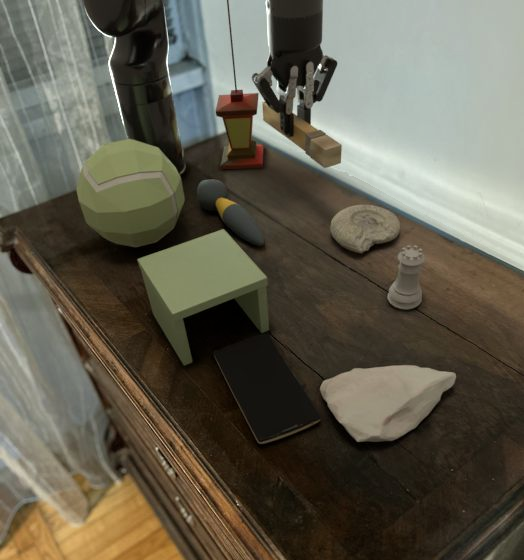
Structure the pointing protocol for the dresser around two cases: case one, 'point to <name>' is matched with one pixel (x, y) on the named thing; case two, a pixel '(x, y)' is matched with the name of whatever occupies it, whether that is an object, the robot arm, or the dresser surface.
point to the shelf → (202, 284)
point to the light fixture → (239, 126)
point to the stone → (384, 399)
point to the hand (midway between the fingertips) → (295, 132)
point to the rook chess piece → (407, 280)
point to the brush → (308, 139)
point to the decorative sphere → (130, 193)
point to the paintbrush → (229, 211)
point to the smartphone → (266, 389)
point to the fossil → (364, 227)
